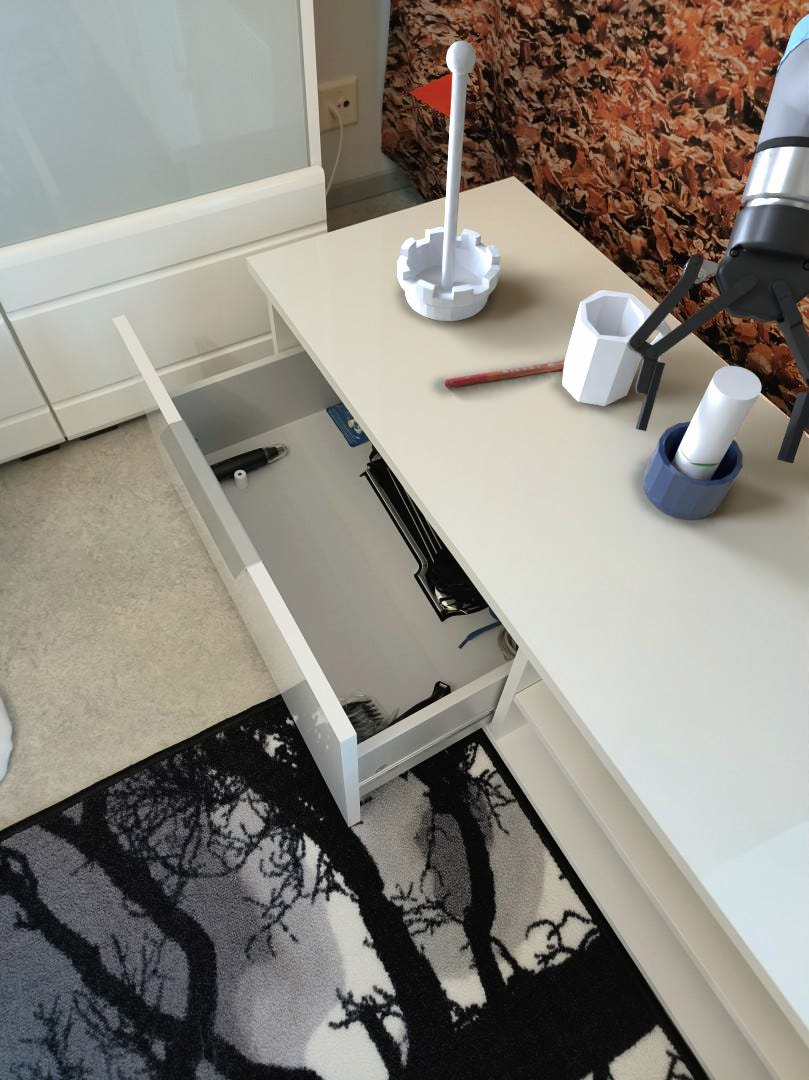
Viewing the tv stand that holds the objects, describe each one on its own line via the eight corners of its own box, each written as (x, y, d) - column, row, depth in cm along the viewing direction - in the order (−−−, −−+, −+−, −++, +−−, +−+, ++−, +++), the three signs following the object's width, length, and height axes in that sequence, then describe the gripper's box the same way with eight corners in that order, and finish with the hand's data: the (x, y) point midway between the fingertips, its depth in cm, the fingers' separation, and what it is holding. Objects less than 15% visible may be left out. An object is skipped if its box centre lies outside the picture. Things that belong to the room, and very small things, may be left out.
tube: (656, 482, 80) (703, 382, 67) (678, 461, 81) (729, 359, 69) (690, 506, 78) (745, 407, 66) (712, 483, 80) (770, 382, 67)
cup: (734, 481, 81) (756, 446, 76) (701, 532, 77) (722, 499, 72) (663, 446, 84) (680, 409, 79) (629, 494, 80) (644, 458, 75)
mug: (572, 410, 87) (591, 347, 78) (551, 358, 91) (567, 293, 83) (669, 397, 88) (698, 333, 80) (643, 346, 92) (668, 281, 84)
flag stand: (499, 266, 101) (531, 16, 76) (492, 331, 94) (525, 79, 69) (405, 257, 102) (405, 8, 77) (390, 321, 95) (386, 69, 70)
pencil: (445, 389, 88) (446, 383, 88) (443, 383, 89) (443, 377, 88) (596, 366, 91) (597, 360, 90) (593, 360, 91) (594, 354, 90)
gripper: (911, 247, 68) (833, 471, 73) (638, 200, 72) (581, 416, 77) (952, 228, 61) (863, 479, 66) (647, 177, 65) (584, 418, 69)
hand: (711, 446), depth 71 cm, fingers open, 13 cm apart
